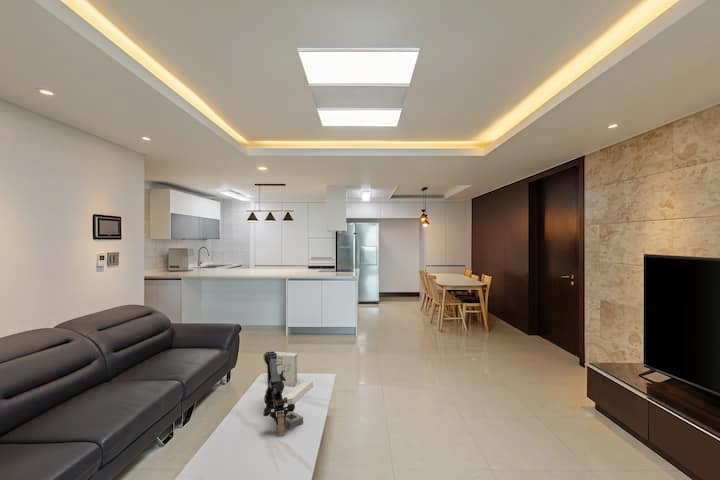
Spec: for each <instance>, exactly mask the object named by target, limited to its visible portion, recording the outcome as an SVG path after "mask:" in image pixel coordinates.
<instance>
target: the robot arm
mask: <svg viewBox="0 0 720 480" xmlns="http://www.w3.org/2000/svg"><path fill="white" fill-rule="evenodd" d="M274 352H275V351H266V352H264V354H263V360H264V363H265V364H266V372H267V373H266V377H267V380H266V381H267V388H266V390H265V394H264V397H263V402H264V404H265V408H264V409H263V412H262V417H270V418H272V419H273V420H274V422H275V424H276V426H277V425H278V421H277V412H281V411H283V413H284V424H285V419H286V414H287V413H288V412H291V411H293V412H295V409H296V405H295V404H287V406H285V403H287V402H288V401H287V397H285V396H284V397H285V398H284V397H283V392H284V389H285V386H284V383H283V382H282V380H281V378H280V376H279V375H278V372H277V365H276V359H277V354H276V353H274ZM283 398H284V399H283Z"/></svg>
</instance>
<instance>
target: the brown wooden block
mask: <svg viewBox="0 0 720 480" xmlns="http://www.w3.org/2000/svg"><path fill="white" fill-rule="evenodd" d="M283 412H284V411H279V412H276V416H277V421H278V425H277V424H276V435H277V437H278V438H279V437H284V436H285V426H284V413H283Z"/></svg>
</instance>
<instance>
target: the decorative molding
mask: <svg viewBox="0 0 720 480" xmlns="http://www.w3.org/2000/svg"><path fill="white" fill-rule="evenodd" d="M311 388H312V389H313V388H314V382H313V381H306V382H301V383H300V384H298V385H297V386H296V387H295V388H293V390H291V391H290V392H288V393H287V394H285V396H284V397H282V398H283V399H284V398H285V397H287V401H288V402H287V403H285V404H286V405H288V404H294V405H295V404H296V403H297V402H298V401H299V400H300V399H301V398H302V397H304V396H305V395H306V394H307V393H309V391H310V390H312V389H311Z"/></svg>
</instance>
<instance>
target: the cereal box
mask: <svg viewBox="0 0 720 480" xmlns="http://www.w3.org/2000/svg"><path fill="white" fill-rule="evenodd" d="M274 353H276V354H277V359H276V365H277V372H278V375H279V376H280V378H281V380H282V382H283V383H284V387H291V388H292V387H293V388H294V387H295V386H296V385H297V384H298V383H297V382H298V353H297V352H284V351H274Z"/></svg>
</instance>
